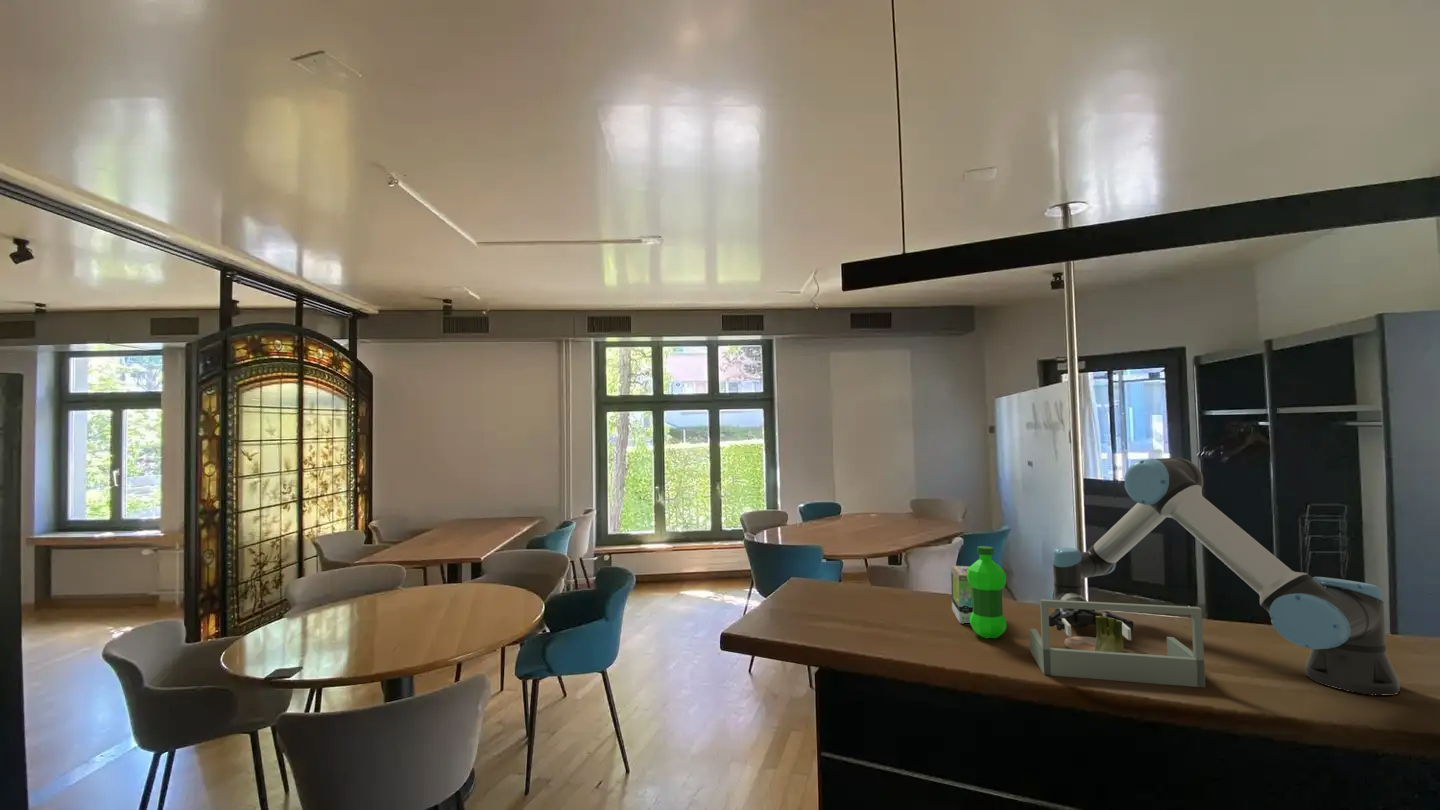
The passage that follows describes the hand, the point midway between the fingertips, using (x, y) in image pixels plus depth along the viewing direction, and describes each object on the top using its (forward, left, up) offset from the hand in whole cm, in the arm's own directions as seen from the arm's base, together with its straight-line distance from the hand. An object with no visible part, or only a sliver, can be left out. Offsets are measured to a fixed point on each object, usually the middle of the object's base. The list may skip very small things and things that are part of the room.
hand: (1099, 632), depth 162 cm
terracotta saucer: (+4, -7, -6) cm, 11 cm away
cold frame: (-4, +6, -6) cm, 9 cm away
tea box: (+39, -12, -7) cm, 41 cm away
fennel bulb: (-3, +5, -7) cm, 9 cm away
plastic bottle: (+28, +2, -7) cm, 29 cm away
